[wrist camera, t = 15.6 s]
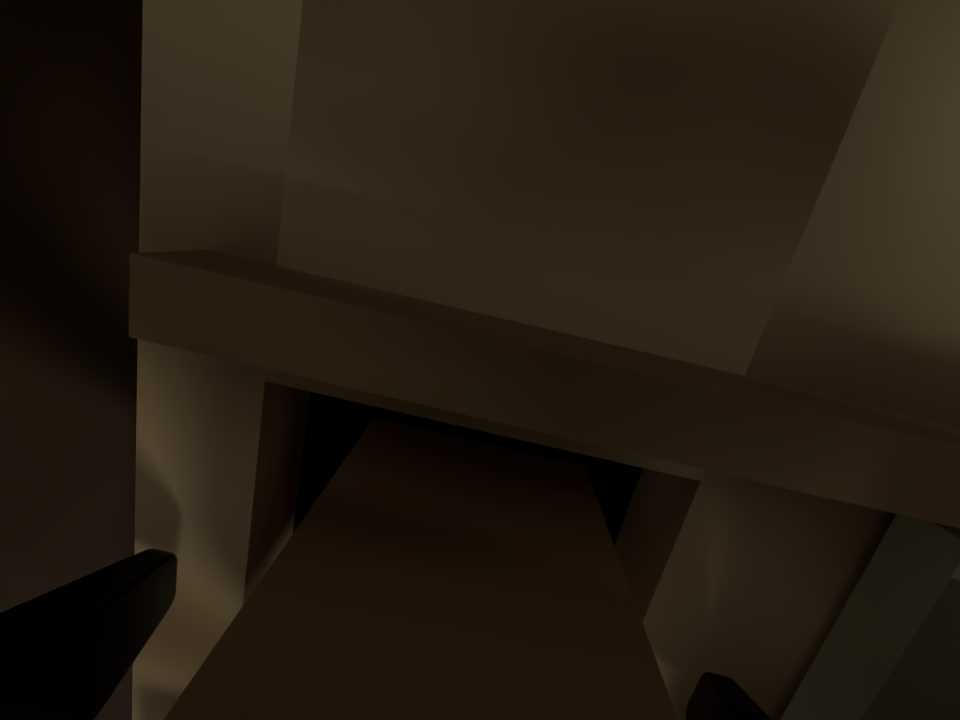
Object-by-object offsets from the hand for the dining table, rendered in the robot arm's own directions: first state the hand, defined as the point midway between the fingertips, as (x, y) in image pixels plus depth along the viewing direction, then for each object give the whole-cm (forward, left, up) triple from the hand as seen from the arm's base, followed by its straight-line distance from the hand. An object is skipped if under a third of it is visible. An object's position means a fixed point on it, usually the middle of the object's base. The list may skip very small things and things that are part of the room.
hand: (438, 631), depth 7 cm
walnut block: (0, 0, -3) cm, 3 cm away
